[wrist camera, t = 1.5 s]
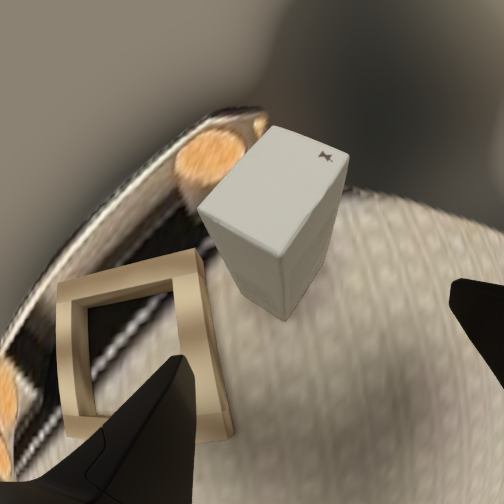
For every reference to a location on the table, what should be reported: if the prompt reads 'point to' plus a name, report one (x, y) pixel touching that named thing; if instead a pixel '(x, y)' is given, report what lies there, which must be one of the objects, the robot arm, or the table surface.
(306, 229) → the skincare box
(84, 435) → the wooden picture frame
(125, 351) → the table surface
